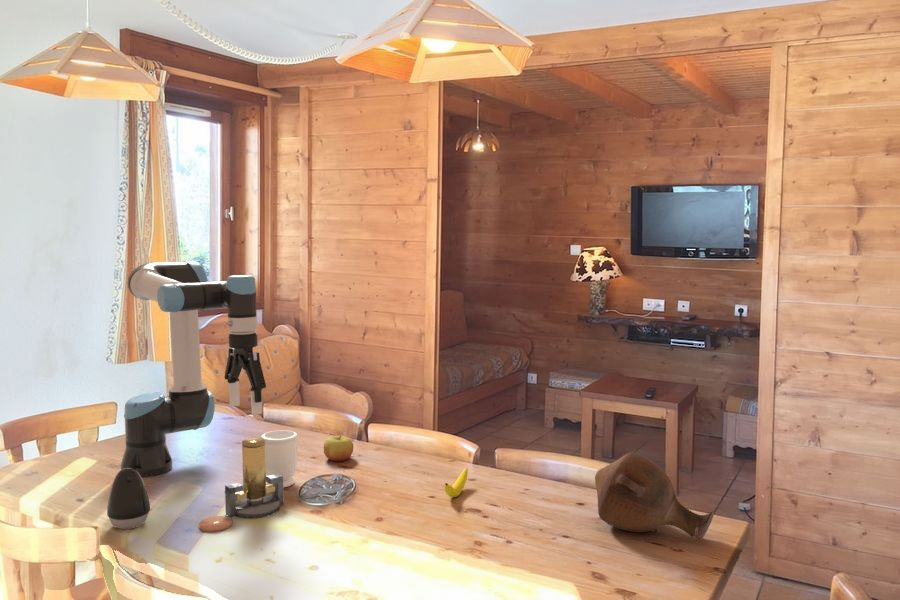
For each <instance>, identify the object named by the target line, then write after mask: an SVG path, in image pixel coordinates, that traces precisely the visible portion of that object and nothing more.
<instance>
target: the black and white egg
mask: <svg viewBox="0 0 900 600" xmlns="http://www.w3.org/2000/svg"><path fill="white" fill-rule="evenodd" d="M150 510H151V502H150V499H149V494H148V491H147V487H146V485H145V482H144V480H143V477H141V476H140V474H139V473H138V472H137V471H136V470H135V469H133V468H124V469H122V470H121V469H120V470H119V471H118V472H117V473H116V475H115V477H114V479H113V481H112V484H111V487H110V491H109V495H108V499H107V508H106V515H107V517H108V519H109V521H110V523H111V524H112V525H113V527H115V528H117V529H121V530H131V529H135V528H138V527H140V526H141V525H143V524H144V523H145V522H146V520H147V518H148V516H149V513H150V512H151V511H150Z"/></svg>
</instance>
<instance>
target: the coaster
mask: <svg viewBox="0 0 900 600" xmlns="http://www.w3.org/2000/svg"><path fill="white" fill-rule="evenodd" d="M232 525H233V522H232V518H230V517H229V516H227V515H225V516H224V515H214V516H208V517H206V518H204V519H201V520H200V521H199V523H198V528H199V529H200V530H201V531H202V532H207V533H213V532H214V533H215V532H222V531H225V530H227V529H229V528H231V526H232Z"/></svg>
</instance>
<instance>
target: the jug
mask: <svg viewBox="0 0 900 600" xmlns="http://www.w3.org/2000/svg"><path fill="white" fill-rule="evenodd" d="M594 475H595V476H594V483H595V487H596V496H597V511H598V513H597V514H598V516H599V518H600V520H602V521H603V522H604V523H606V524H607V525H609V526H612V527H614V528H616V529H620V530H623V531H626V532H632V533H645V532H646V533H647V532H651V531H653V532H654V533H655V534H658V533H660V528H661V527H662V526H666V525H669V526H673V527H675V528H678V529H680V530H682V531H684V532H685V533H686V534H688V535H689V537H691V538H696V539H699V540H703V539H704V537H705V535H706V533H707V532H708V530H709V528H710V526H711V524H712V523H711V522H712V520H713V518H714V516H715V515H714V513H715V512H714V511H713V510H712V511H710V512H709V513H707V514H703V515H702V514H698V513H695V512H693V511H691V510H690V509H688V508H686V507H685V506H684V505H682V504H681V503H680V501H679V500H678V499H677V496H676V491H675V487H674V484H673V482H672V480H671V479H670V478H669V475H667V473H666V472H665V471H664V470H663V469H662V468H661V467H660V466H658V464H657V463H655V462H654V461H652V460H651V459H649V458H647V457H646V456H645V455H642V454H640V453H637V452H632V451H631V452H627V453H626V454H624V455H622V456H621V457H619V458H618V459H616V460H615V461H613V462H611V463H609V464H608V465H605V466H604V467H602V468H600V469H598V470H597V471H596V473H595V474H594Z"/></svg>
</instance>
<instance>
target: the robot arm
mask: <svg viewBox="0 0 900 600" xmlns="http://www.w3.org/2000/svg"><path fill="white" fill-rule="evenodd" d="M126 284H127V287H128V290H129V292H130V293H131V294H132V295H133V296H134V297H135V298H137V299H139V300H143V301H149V300H150V301H154V302H156V303H157V305H158V307H159V308H160V310H161V312H164V313H169V327H170V341H171V342H170V343H171V345H170V346H171V361H172V365H171V366H172V381H173V384H172V386H170V388H169V389H168V396H165V395H164V394H165V393H163V392H157V391H156V392H148V393H142V394H138V395H136V396H133V397H131V398H130V399H128V400H127V401H126V402H125V404H124V415H123V418H124V433H125V449H124V452H123V455H122V459H121V462H120V470H122V469H124V468H133V469H135V470H136V471H137V472H138V473H139V474H140V476H141V477H142V478H143V477H153V476H156V475H157V476H158V475H162V474H164V473H167V472H169V471H170V470H172V468H173V458H172V455H171V453H170V450H169V448H168V446H167V441H166V435H167V434H168V435H169V434H173V433H180V432H185V431H186V432H187V431H196V430H199V429H204V428H206V427H208V426H209V425H210V424H211V423H212V421H213V419H214V415H215V407H216V406H215V405H216V404H215V399H214V394H213V392H211V391H210V390H208V386H207V385H206V384H204V383H203V381H202V366H201V365H202V363H201V346H200V345H201V343H200V328H199V325H200V324H199V311H203V310H204V311H205V310H220V309H222V310H223V309H227V320H228V321H227V322H226V324H227V325H228V332H229V334H228V347H229V348H228V356H227V362H226V366H225V372H224V377H223V378H224V380H227V383H228V396H229V397H228V400H229V402H228V403H229V405H228V406H229V407H230V408H231V407H237V406H238V407H239V406H241V403H240V402H241V401H240V379H239V377H240V374H241V372H242V370H244V371H245V372H246V375H247V378H248V381H249V383H250V386H251V388H250V389H249V391H250V405H251V406H250V408H251V410H250V411H251V415H252V416H255V415H261V414H263V401H262V399H263V397H262V396H263V394H262V390H264V389H266V388H267V385H266V384H267V383H266V380H265V376H264V372H263V371H264V370H263V368H262V363H261V360H260V359H261V358H260V352H258V351H256V352H254V348H256V347H257V346H258V333H257V332H256V331H258V316H257V285H256V284H257V283H256V278H255V277H254V276H253V275H250V274H243V275H242V274H240V275H239V274H238V275H229V276H228V277H227V278H226V280H218V281H208V276H207V273H206V270H205V269H204V267H203V265H202V264H201V263H200V262H197V261H191V260H190V261H188V260H183V261H182V260H181V261H161V262H160V261H159V262H157V261H153V262H147V263H143V264H141V265H139V266H137V267H136V268H134V269H133V270H132V271H131V272H130V273H129V275H128V277H127V283H126Z"/></svg>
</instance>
